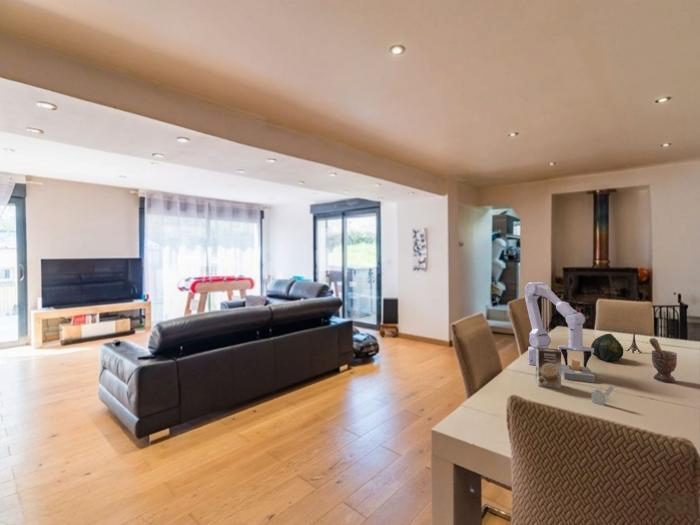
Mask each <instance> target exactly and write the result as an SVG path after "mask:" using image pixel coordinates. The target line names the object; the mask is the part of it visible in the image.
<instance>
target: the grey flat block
mask: <svg viewBox="0 0 700 525" xmlns="http://www.w3.org/2000/svg"><path fill="white" fill-rule="evenodd" d="M595 375H596V374H594V373H593V372H592V370H591V369H590V367H589V366H586V367H584V366H582V365H580V371H578V370H571V364H568V365H565V364H562V363H561V376H562V377H563V379H564V380H567V379H569V380H568V381H576V380H579V381H578V382H585V381H586V383H594V382H595V383H596V376H595Z"/></svg>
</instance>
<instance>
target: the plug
mask: <svg viewBox="0 0 700 525" xmlns="http://www.w3.org/2000/svg"><path fill="white" fill-rule="evenodd" d="M570 365H571V370H578V371H580V366H581V361H580V360H579V359H576V358H571V359H570Z"/></svg>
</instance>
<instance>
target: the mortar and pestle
mask: <svg viewBox="0 0 700 525" xmlns="http://www.w3.org/2000/svg"><path fill="white" fill-rule="evenodd" d="M649 343H650V345H651V346H652V348H653V349H654V350H651V352H652V353H651V362H652V365H653V368H654V369H656V371H657V373H656V374H654V376H653V379H654V380H656V381H658V382H662V383H670V384H671V383H673V384H674V383H676V379H675V377H674V376H673V375H672V373H673V372H674V371H675V369H677V368H676V367H677V364H678V363H677V361H678V360H677V357H678V353H677V352H675V351H670V350H666V349H665V350H664V349H662V348H661V345H660V343H659V341H658V339H657V338H654V337H651V338H650V339H649Z"/></svg>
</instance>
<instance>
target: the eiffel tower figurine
mask: <svg viewBox="0 0 700 525" xmlns="http://www.w3.org/2000/svg"><path fill="white" fill-rule="evenodd" d="M632 334H633V335H632V342H631V346H629V348H627V349H628V350H626V352H628V351H629V350H630V349H631V350H632V353H631V354H635V353H634V351H636V350H638V352H640V353H639V354H642V350H641V349H639V347H638V345H637V342H636V334H635V331H633V333H632Z"/></svg>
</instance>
